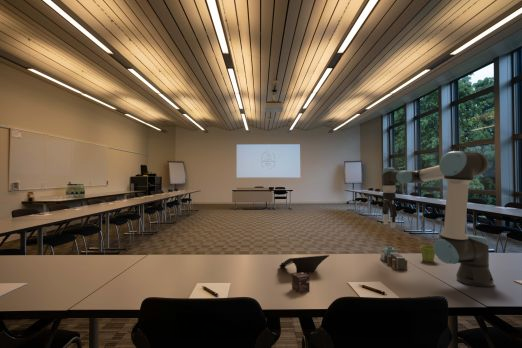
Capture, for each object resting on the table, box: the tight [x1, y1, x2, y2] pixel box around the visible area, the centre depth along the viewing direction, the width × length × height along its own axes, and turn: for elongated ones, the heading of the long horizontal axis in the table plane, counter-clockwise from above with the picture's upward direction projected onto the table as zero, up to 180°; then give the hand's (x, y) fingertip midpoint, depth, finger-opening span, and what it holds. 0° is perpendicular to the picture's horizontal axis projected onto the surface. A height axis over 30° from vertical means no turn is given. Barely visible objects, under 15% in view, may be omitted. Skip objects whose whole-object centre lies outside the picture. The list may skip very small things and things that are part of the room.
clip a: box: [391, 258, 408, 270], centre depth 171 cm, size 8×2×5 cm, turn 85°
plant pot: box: [419, 244, 436, 263], centre depth 188 cm, size 9×9×9 cm
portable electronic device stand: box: [278, 254, 330, 274], centre depth 166 cm, size 23×23×9 cm
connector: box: [383, 246, 396, 261], centre depth 188 cm, size 5×5×8 cm
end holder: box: [380, 252, 388, 263], centre depth 189 cm, size 8×8×4 cm
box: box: [291, 272, 310, 294], centre depth 138 cm, size 6×6×7 cm
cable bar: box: [390, 252, 406, 270], centre depth 175 cm, size 4×12×6 cm, turn 175°
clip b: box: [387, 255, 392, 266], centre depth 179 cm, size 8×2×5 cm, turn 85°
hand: (389, 226), depth 189 cm, fingers open, 13 cm apart
